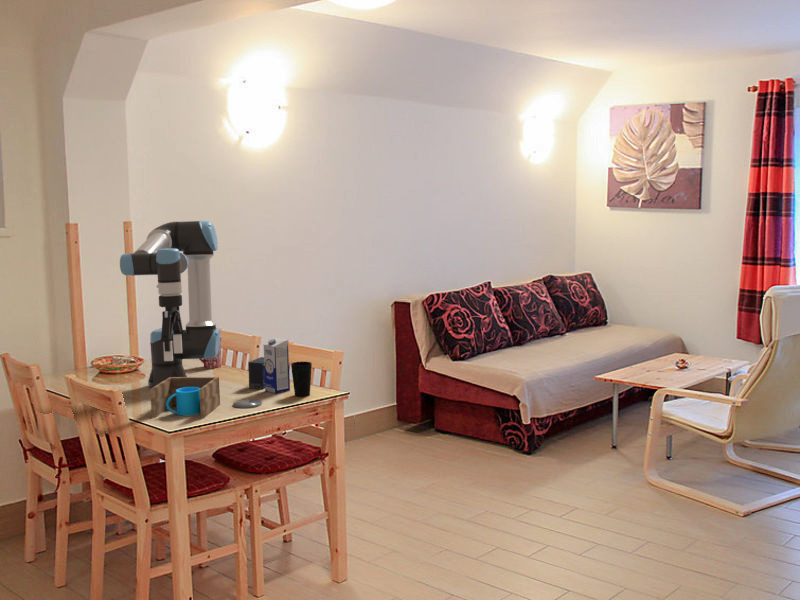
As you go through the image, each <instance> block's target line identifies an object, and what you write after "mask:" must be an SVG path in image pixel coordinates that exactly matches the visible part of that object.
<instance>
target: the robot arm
mask: <svg viewBox="0 0 800 600" xmlns="http://www.w3.org/2000/svg"><path fill="white" fill-rule="evenodd" d="M218 243H219V242H218V236H217V232H216V229H215V226H214V224H213V222H211V221H208V220H204V221H203V220H194V221H193V220H191V221H189V220H188V221H170V222H166V223H163V224H161V225H159V226H157V227H156V228H154V229H152V230H151V231H150V232H149V233H148V234H147V236H146V240H145V241H144V242H143V243H142V244H141V245H140V246H139V247H138V248H137V249H136V250H135V251H134V252H133V253H131V252H128V253H123V254H122V255H120V257H119V268H120V269H119V270H120V272H121V275H123V276H154V275H155V276H156V275H157V284H156V288H157V289H158V294H159V296H158V306H159V307H160V308H165V309H164V311H162V312H161V314H162V320H161V321H162V322H161V323H162V324H161V328H157V329H154V330H152V331H151V333H150V337H149V338H150V342H149V344H150V357H151V370H150V374H149V378H148V381H147V384H148V388H149V389H151V388H153V387H154V386H156V385H158V384H159V383H161V382H163V381H164V380H166V379H168V378H169V377H188V376H187V373H186V370H185V369H184V366H183V360H199V359H207V358H214V357H216V356H217V354H218V351H219V346H220V337H221V336H222V335H221V330H220V329H219V328H217V324H216V323H215V322H214V321H213V320H212V317H213V316H212V288H211V287H212V286H211V264H210V263H211V261H210V260H211V259H212V258H213V257H214V252H215V251H217V250H218V247H219V246H218ZM186 270H187V290H188V295H187V296H188V315H189V319H188V320H189V321H188V322H187V323H186V325H185V329H183V328H184V327H183V324H182V323H183V322H182V318H181V313H180V312H181V311H180V307H181V306H182V305H183V296H182V292H183V291H182V288H183V287H182V278H181V277H182V276H181V275H182V274H183V273H184V272H185V271H186Z"/></svg>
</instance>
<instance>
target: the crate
mask: <svg viewBox="0 0 800 600" xmlns="http://www.w3.org/2000/svg"><path fill="white" fill-rule="evenodd" d="M184 387H198V388H200V409H201V413H200V419H205V418H206V417H208V415H210V414H211V413H212V412H213V411H214V410H215V409H217V408H218V407H219V406H220V405H221V397H220V395H221V394H220V377H219V376H193V377H192V376H187V377H169V378H168V379H166V380H164V381H163V382H161V383H159V384H158V385H156V386H154V387H153V388H151V389H150V388H149V389H150V390H149V393H150V394H149V395H150V408H151V409H150V410H151V418H152V419H155V418H157V417H159V415H162V413H164V412H166V411H167V410H168V409H167V407H166V401H167V400H168V398H169V397H170V396H171V395H173V394H175V393H176V390H177V389H179V388H184ZM172 406H177V401H176V396H174V397H173V398H172V399H171V400H170V402H169V407H170V408H171V407H172Z"/></svg>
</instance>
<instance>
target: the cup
mask: <svg viewBox="0 0 800 600" xmlns="http://www.w3.org/2000/svg"><path fill="white" fill-rule="evenodd" d="M312 365H313V363H312V362H311V361H296V362H295V361H294V362H292V363H290V366H291V367H290V368H291V369H290V370H291V376H292V377H291V378H292V383H293V384H292V385H293V391H294V392H293V393H294V396H295V398H296V397H298V398H305V397H310V395H311V386H312V385H311V383H312V382H311V380H312V367H313V366H312Z"/></svg>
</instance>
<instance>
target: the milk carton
mask: <svg viewBox="0 0 800 600" xmlns="http://www.w3.org/2000/svg"><path fill="white" fill-rule="evenodd" d="M289 350H290V349H289V339H288V338H282V337H275V338H273V339H269V340H268V341H266V343H264V344H263V357H264V368H265V388H264V389H265V390H264V391H266V392H269V393H272V394H275V395H276V394H280V393H285V392H289V391H291V383H290V382H291V381H290V377H291V376H290V355H289Z"/></svg>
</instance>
